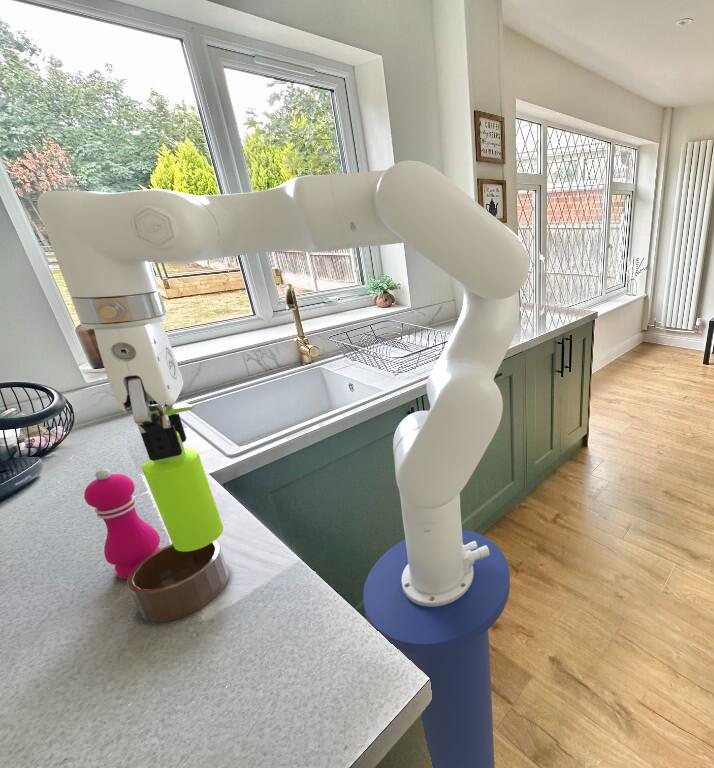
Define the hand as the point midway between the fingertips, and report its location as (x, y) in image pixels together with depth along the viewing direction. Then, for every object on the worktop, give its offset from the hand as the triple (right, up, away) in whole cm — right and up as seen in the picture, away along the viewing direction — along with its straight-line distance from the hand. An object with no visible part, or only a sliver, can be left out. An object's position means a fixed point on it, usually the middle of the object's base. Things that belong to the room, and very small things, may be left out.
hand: (169, 448), depth 54 cm
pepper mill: (-22, -24, +20) cm, 38 cm away
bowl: (-9, -26, +15) cm, 31 cm away
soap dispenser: (0, -13, +6) cm, 15 cm away
